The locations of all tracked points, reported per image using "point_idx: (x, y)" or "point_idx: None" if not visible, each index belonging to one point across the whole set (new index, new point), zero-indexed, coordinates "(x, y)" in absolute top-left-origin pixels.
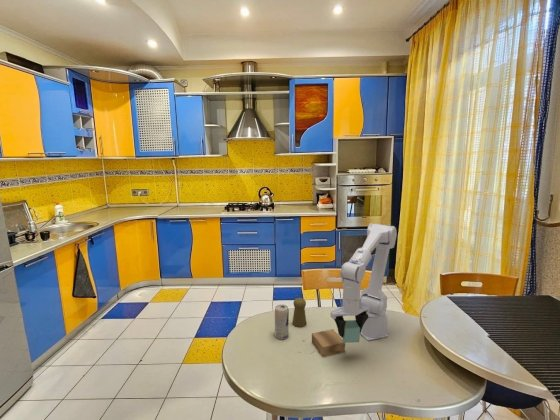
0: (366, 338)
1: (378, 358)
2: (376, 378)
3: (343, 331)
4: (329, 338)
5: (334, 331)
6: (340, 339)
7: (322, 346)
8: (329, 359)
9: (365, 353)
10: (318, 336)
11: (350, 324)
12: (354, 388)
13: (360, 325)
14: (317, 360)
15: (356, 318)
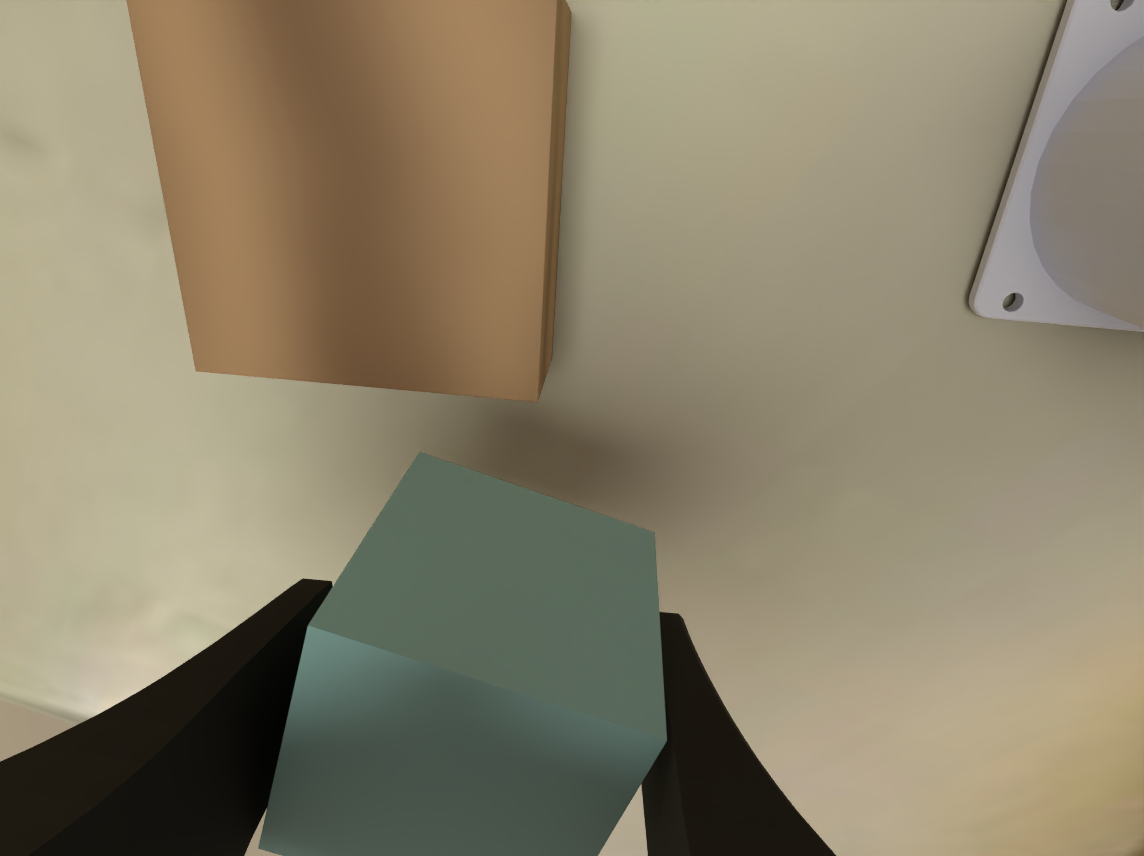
0: (985, 278)
1: (803, 575)
2: None
3: (272, 774)
4: (364, 231)
5: (541, 76)
6: (511, 321)
7: (197, 355)
8: (325, 396)
9: (744, 472)
10: (211, 101)
11: (447, 806)
12: None
13: (651, 850)
14: None
15: (674, 827)
